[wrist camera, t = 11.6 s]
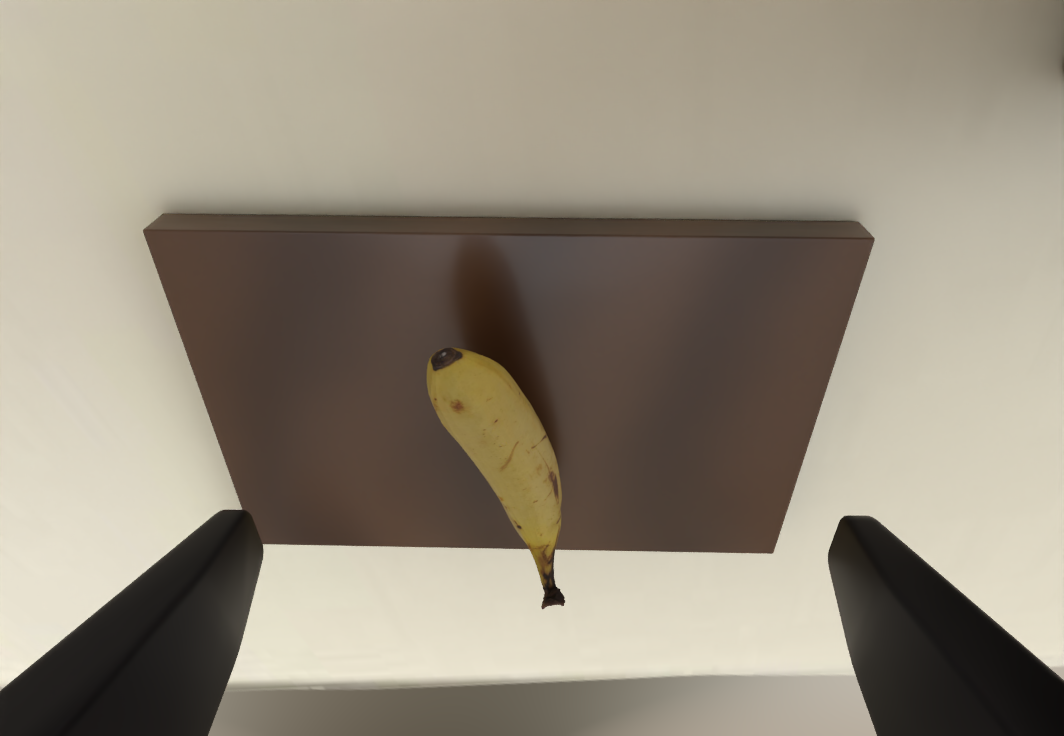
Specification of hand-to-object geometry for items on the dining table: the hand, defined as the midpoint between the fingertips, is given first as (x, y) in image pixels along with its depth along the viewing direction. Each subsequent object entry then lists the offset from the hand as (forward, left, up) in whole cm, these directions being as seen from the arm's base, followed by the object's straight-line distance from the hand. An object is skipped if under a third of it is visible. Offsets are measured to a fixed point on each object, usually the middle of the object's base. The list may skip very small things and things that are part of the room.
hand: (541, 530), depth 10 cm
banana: (+1, +6, -10) cm, 12 cm away
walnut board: (+1, +6, -11) cm, 13 cm away
